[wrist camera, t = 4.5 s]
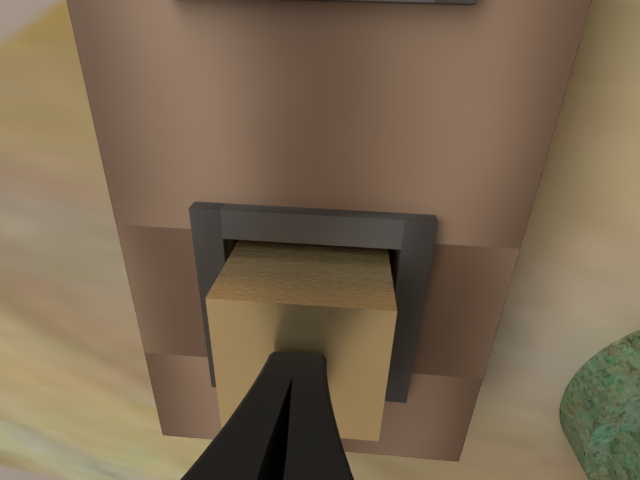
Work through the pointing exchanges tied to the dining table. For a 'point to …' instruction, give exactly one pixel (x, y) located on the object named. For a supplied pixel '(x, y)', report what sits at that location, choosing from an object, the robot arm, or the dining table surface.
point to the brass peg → (306, 323)
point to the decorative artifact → (606, 412)
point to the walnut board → (328, 171)
